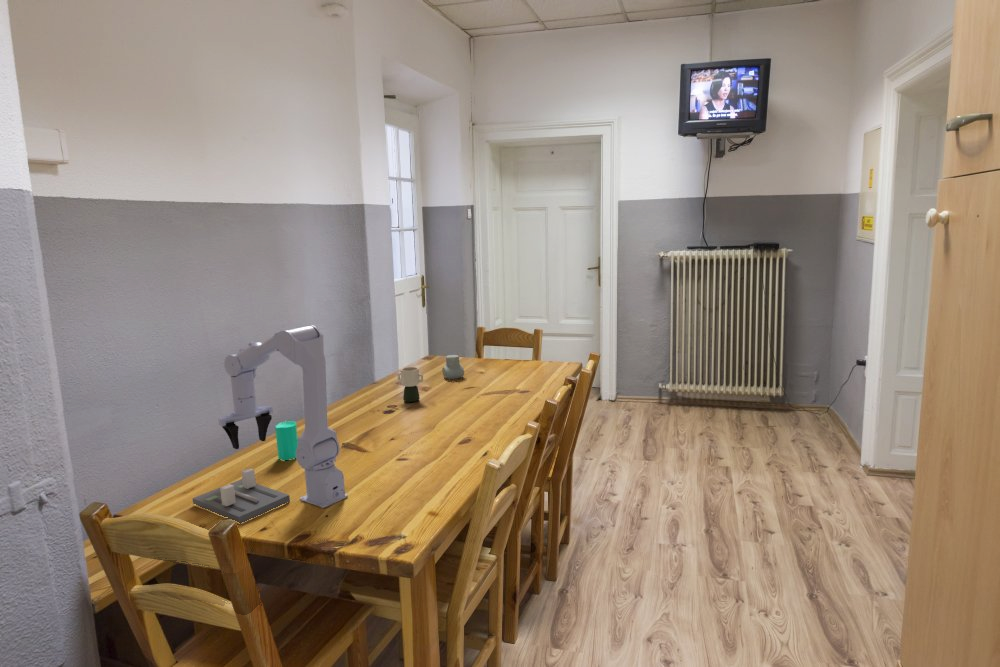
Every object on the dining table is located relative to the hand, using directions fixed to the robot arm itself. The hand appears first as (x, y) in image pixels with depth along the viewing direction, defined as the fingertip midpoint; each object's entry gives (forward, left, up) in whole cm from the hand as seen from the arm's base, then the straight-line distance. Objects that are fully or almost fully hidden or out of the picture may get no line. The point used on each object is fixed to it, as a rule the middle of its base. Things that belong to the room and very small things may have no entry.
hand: (249, 444), depth 175 cm
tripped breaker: (-14, +16, -8) cm, 23 cm away
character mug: (+14, -79, -10) cm, 81 cm away
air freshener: (+23, -116, -10) cm, 119 cm away
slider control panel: (-12, +12, -10) cm, 19 cm away
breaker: (-9, +7, -8) cm, 14 cm away
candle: (+5, -15, -10) cm, 19 cm away
